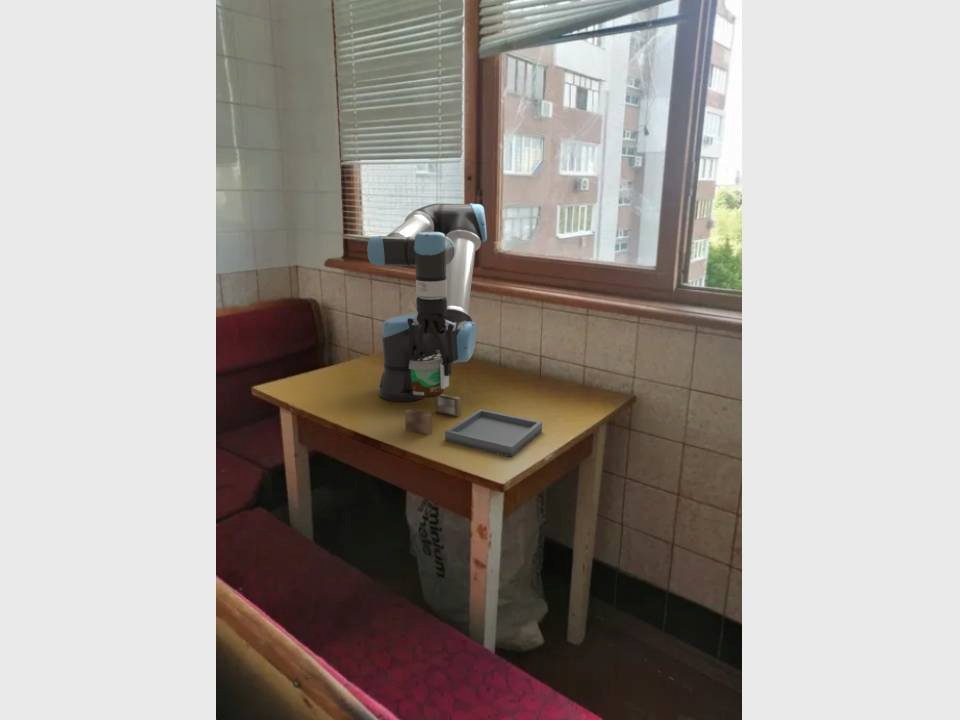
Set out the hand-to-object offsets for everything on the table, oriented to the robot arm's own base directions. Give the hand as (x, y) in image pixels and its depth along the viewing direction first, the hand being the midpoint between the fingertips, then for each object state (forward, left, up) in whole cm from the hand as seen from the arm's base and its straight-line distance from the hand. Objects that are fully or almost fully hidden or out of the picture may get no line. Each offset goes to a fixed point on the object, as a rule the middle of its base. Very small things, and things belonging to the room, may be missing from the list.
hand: (433, 384), depth 152 cm
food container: (0, 0, -3) cm, 3 cm away
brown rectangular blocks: (0, 0, -10) cm, 10 cm away
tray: (+18, 0, -10) cm, 21 cm away
